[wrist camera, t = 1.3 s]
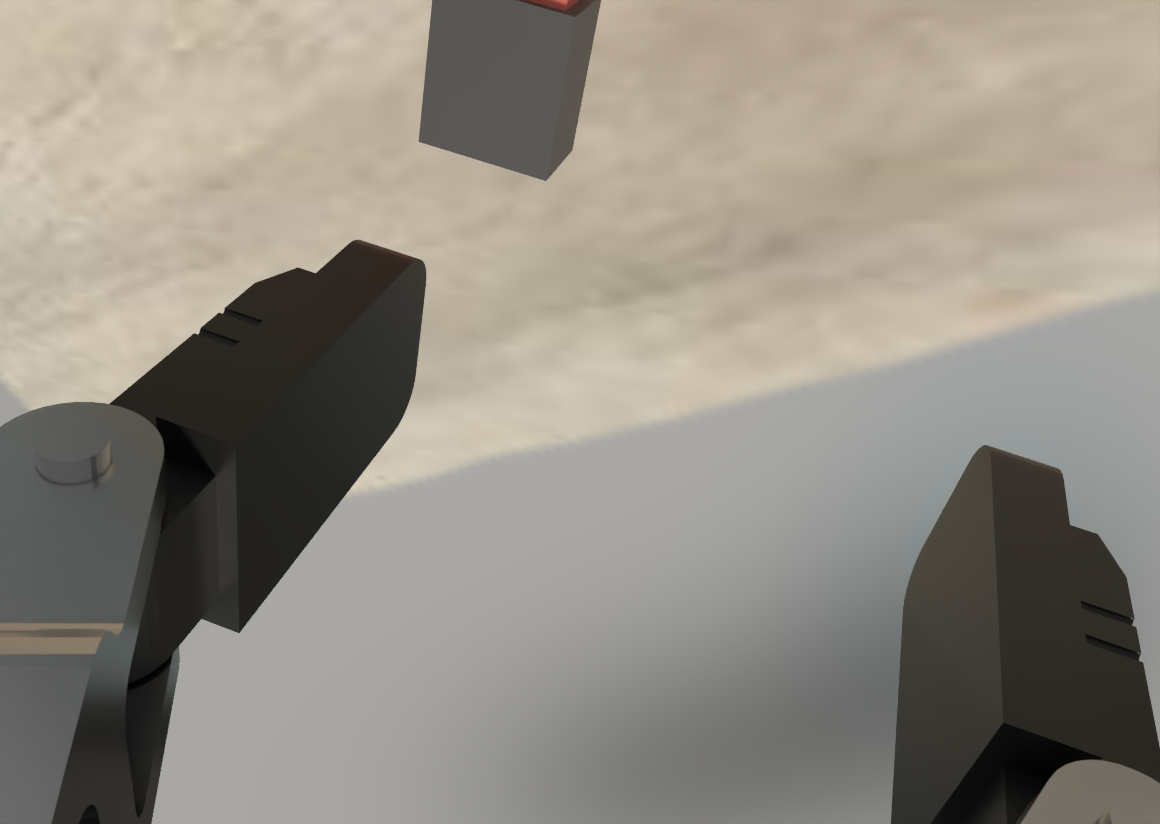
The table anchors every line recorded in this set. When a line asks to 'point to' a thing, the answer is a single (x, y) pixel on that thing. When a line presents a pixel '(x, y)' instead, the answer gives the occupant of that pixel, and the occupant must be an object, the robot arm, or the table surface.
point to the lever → (507, 80)
